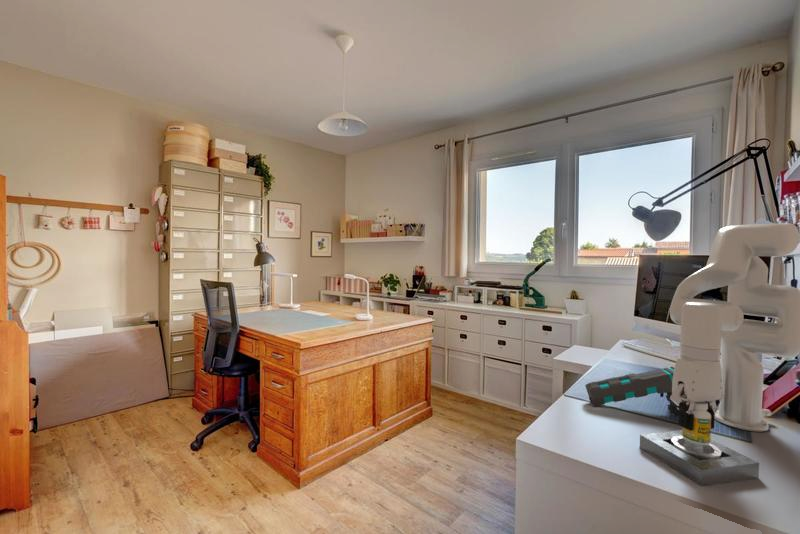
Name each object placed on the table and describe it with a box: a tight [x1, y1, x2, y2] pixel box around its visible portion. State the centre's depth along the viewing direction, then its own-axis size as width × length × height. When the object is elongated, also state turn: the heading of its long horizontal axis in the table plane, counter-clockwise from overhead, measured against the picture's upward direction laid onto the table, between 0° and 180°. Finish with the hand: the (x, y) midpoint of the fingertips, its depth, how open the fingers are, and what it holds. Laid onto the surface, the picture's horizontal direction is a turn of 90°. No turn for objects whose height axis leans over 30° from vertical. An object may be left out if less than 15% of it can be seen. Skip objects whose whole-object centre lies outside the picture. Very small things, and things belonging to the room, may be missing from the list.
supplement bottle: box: [681, 402, 712, 445], centre depth 88 cm, size 5×5×10 cm
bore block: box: [639, 429, 760, 487], centre depth 89 cm, size 16×16×4 cm
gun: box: [584, 365, 687, 417], centre depth 119 cm, size 7×29×15 cm, turn 78°
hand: (696, 426), depth 88 cm, fingers closed on supplement bottle, 5 cm apart
